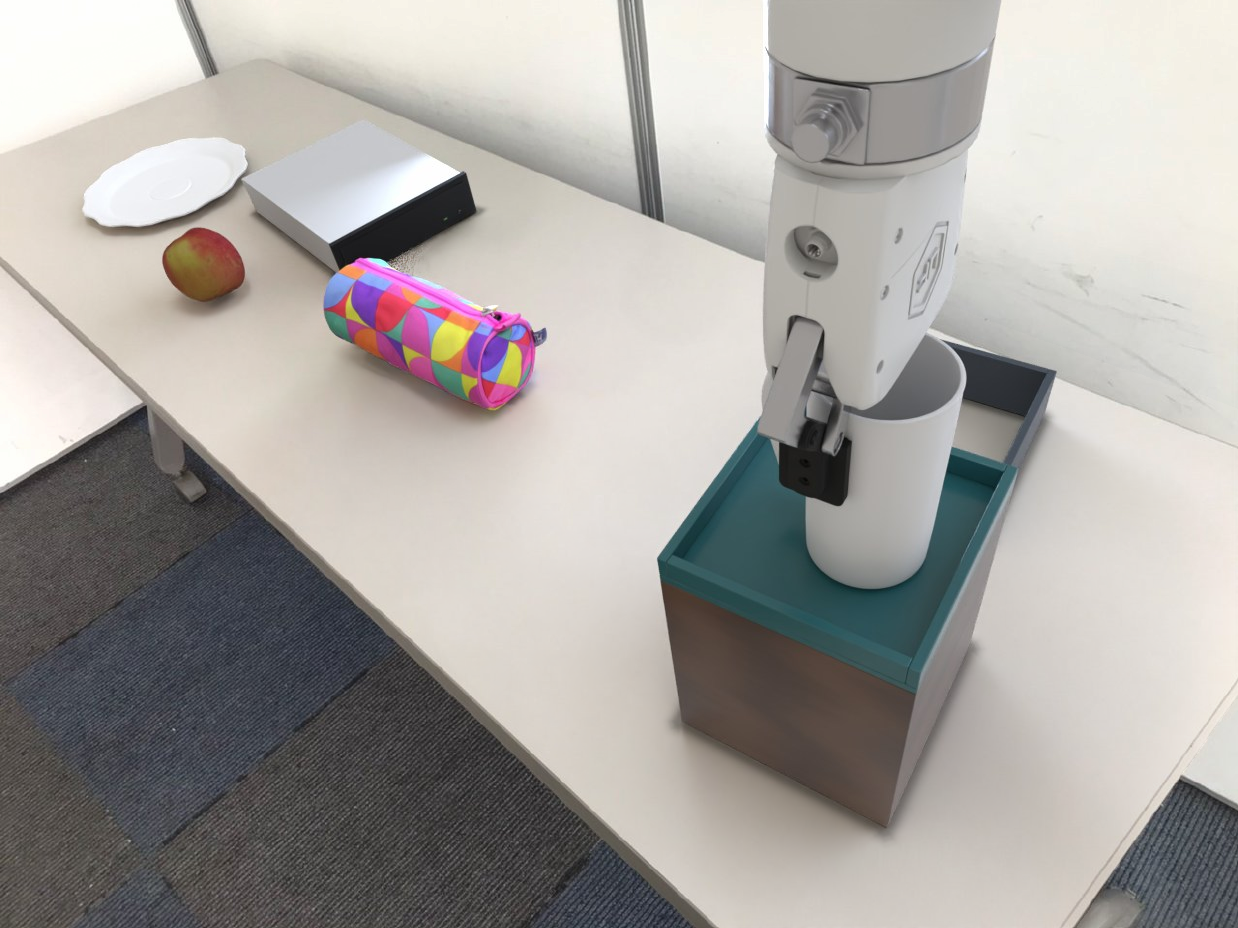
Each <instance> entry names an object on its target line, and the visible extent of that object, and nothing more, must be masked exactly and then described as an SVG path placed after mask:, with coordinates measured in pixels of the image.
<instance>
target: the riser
mask: <svg viewBox="0 0 1238 928" xmlns="http://www.w3.org/2000/svg"><path fill="white" fill-rule="evenodd" d="M1012 495H1013V492H1012V493H1011V496H1010V498H1009V500H1008V502H1007V504H1006V506H1005V508H1004V510H1003V512H1002V515H1001V517H1000V519H999V521H998V523H997V525H996V527H995V529H994V531H993V534H992V536H991V538H990V540H989V542H988V544H987V546H986V548H985V550H984V553H983V555H982V557H981V559H980V561H979V563H978V565H977V567H976V570H975V572H974V574H973V576H972V578H971V580H970V582H969V584H968V586H967V589H966V591H965V593H964V595H963V597H962V599H961V601H960V603H959V605H958V608H957V610H956V612H955V614H954V616H953V618H952V620H951V622H950V624H949V627H948V629H947V631H946V633H945V635H944V637H943V639H942V641H941V643H940V646H939V648H938V650H937V652H936V654H935V656H934V658H933V660H932V663H931V665H930V667H929V669H928V671H927V673H926V675H925V677H924V679H923V682H922V684H921V686H920V688H919V690H918V692H917V694H913V693H911V692H909V691H907V690H905V689H902V688H900V687H898V686H896V685H893V684H891V683H889V682H887V681H885V680H882V679H880V678H878V677H876V676H873V675H871V674H869V673H867V672H864V671H862V670H860V669H858V668H856V667H853V666H851V665H849V664H847V663H844V662H842V661H840V660H838V659H835V658H833V657H831V656H829V655H827V654H824V653H822V652H820V651H818V650H815V649H813V648H811V647H809V646H806V645H804V644H802V643H800V642H798V641H795V640H793V639H791V638H789V637H786V636H784V635H782V634H780V633H777V632H775V631H773V630H771V629H769V628H766V627H764V626H762V625H760V624H757V623H755V622H753V621H751V620H748V619H746V618H744V617H742V616H740V615H737V614H735V613H733V612H731V611H728V610H726V609H724V608H722V607H720V606H717V605H715V604H713V603H711V602H708V601H706V600H704V599H702V598H699V597H697V596H695V595H693V594H691V593H688V592H686V591H684V590H682V589H679V588H677V587H675V586H673V585H670V584H668V583H666V582H664V581H662V580H660V579H659V582H660V588H661V594H662V595H661V596H662V601H663V602H662V603H663V607H664V615H665V620H666V627H667V628H666V629H667V633H668V640H669V646H670V653H671V659H672V665H673V670H674V679H675V685H676V686H675V687H676V692H677V698H678V705H679V711H680V717H681V722H683V723H685V724H687V725H688V726H690V727H692V728H694V729H696V730H698V731H700V732H701V733H704V734H705V735H708V736H710V737H712V738H713V739H715V740H717V741H719V742H721V743H723V744H724V745H727V746H729V747H731V748H732V749H735V750H736V751H738V752H741V753H742V754H744V755H746V756H748V757H750V758H752V759H754V760H755V761H758V762H759V763H762V764H763V765H765V766H767V767H769V768H771V769H772V770H775V771H777V772H779V773H781V774H782V775H785V776H787V777H788V778H790V779H792V780H794V781H796V782H797V783H800V784H802V785H804V786H805V787H807V788H809V789H811V790H813V791H815V792H817V793H819V794H821V795H823V796H825V797H827V798H829V799H831V800H832V801H835V802H837V803H838V804H841V805H843V806H844V807H845V808H848V809H850V810H852V811H854V812H856V813H857V814H859V815H861V816H864V817H865V818H867V819H869V820H871V821H873V822H875V823H877V824H879V825H880V826H882V827H885V828H886V829H887V828H888V827H889V825H890V823H891V821H892V819H893V817H894V814H895V813H896V810H897V808H898V806H899V803H900V801H901V799H902V796H903V794H904V792H905V790H906V788H907V786H908V783H909V782H910V778H911V777H912V774H913V772H914V770H915V767H917V766H916V765H917V764H918V761H919V760H920V757H921V755H922V752H923V750H924V748H925V746H926V744H927V741H928V739H929V737H930V734H931V732H932V731H933V728H934V726H935V724H936V721H937V718H938V717H939V715H940V713H941V710H942V708H943V706H944V704H945V701H946V699H947V697H948V695H949V693H950V691H951V688H952V686H953V683H954V681H955V679H956V677H957V675H958V673H959V671H960V668H961V666H962V663H963V661H964V659H965V657H966V654H967V653H968V650H969V648H970V645H971V641H972V638H973V634H974V631H975V627H976V623H977V620H978V617H979V613H980V609H981V605H982V602H983V598H984V596H985V591H986V587H987V583H988V581H989V577H990V573H991V570H992V567H993V566H992V565H993V562H994V560H995V555H996V552H997V548H998V544H999V540H1000V537H1001V534H1002V530H1003V526H1004V523H1005V519H1006V515H1007V512H1008V509H1009V505H1010V501H1011V497H1012Z"/></svg>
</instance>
